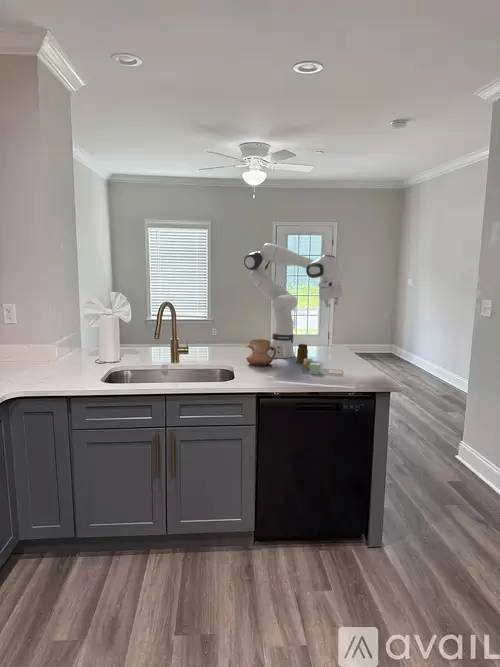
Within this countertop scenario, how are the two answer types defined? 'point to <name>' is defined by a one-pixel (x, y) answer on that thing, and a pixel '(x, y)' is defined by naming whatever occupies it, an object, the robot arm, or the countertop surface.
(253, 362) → the ceramic jug
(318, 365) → the sage block
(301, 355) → the condiment
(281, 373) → the countertop surface
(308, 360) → the maple block
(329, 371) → the grey flat slab
